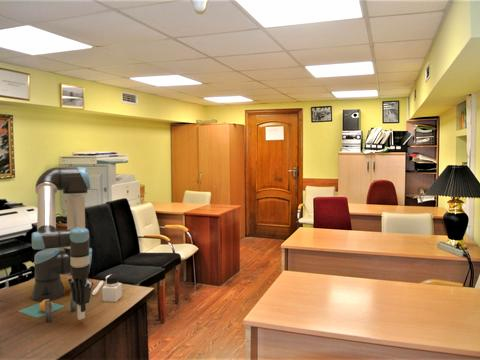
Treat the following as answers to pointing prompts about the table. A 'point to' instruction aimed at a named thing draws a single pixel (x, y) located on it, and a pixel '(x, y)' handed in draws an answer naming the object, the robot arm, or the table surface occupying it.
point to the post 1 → (48, 311)
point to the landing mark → (38, 310)
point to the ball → (43, 305)
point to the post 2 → (72, 304)
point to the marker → (97, 288)
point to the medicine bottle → (112, 289)
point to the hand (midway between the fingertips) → (81, 318)
